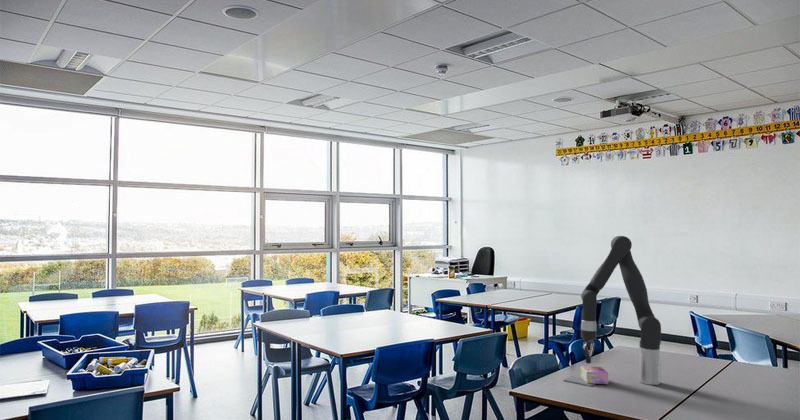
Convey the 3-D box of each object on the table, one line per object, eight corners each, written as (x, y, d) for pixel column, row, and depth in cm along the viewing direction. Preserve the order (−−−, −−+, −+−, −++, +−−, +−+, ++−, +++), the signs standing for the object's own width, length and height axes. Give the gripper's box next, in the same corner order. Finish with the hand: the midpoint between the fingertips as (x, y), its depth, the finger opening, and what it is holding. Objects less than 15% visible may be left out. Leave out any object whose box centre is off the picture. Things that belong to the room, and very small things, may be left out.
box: (601, 366, 273) (608, 372, 261) (601, 377, 273) (608, 384, 261) (580, 365, 274) (586, 371, 262) (580, 376, 274) (586, 383, 262)
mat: (598, 382, 266) (598, 381, 266) (591, 386, 258) (591, 385, 258) (571, 377, 275) (571, 375, 275) (563, 381, 267) (563, 379, 267)
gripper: (591, 331, 268) (591, 366, 267) (600, 328, 278) (600, 362, 277) (576, 329, 273) (576, 364, 272) (586, 326, 283) (586, 359, 282)
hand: (588, 362), depth 275 cm, fingers closed
